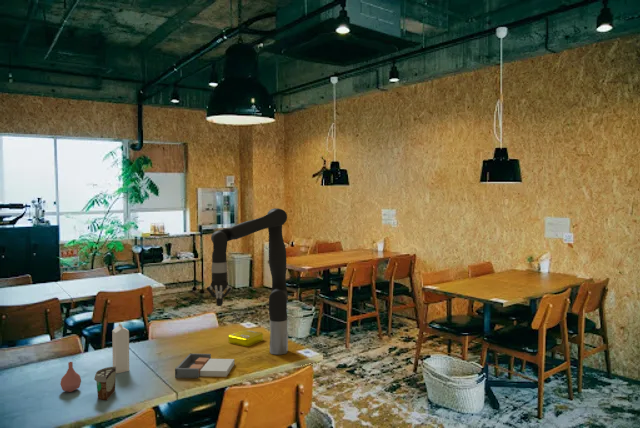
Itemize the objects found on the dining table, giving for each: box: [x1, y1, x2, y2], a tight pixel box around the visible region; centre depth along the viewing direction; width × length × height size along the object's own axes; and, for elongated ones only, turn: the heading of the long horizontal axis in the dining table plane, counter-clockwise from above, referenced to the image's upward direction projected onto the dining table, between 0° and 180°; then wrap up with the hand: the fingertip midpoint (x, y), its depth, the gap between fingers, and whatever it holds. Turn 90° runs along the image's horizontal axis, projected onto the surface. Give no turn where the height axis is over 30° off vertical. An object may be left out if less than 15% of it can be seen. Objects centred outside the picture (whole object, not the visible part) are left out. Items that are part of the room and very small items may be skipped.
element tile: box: [227, 329, 264, 347], centre depth 267 cm, size 15×15×5 cm
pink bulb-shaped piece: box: [60, 361, 82, 393], centre depth 197 cm, size 8×8×12 cm
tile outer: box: [190, 364, 203, 374], centre depth 218 cm, size 5×5×2 cm
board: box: [199, 358, 235, 378], centre depth 222 cm, size 12×16×2 cm
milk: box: [111, 322, 130, 374], centre depth 220 cm, size 6×6×22 cm
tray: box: [174, 352, 212, 379], centre depth 222 cm, size 10×21×4 cm, turn 177°
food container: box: [93, 366, 117, 401], centre depth 192 cm, size 12×6×10 cm, turn 5°
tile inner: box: [195, 357, 209, 367], centre depth 227 cm, size 5×5×2 cm
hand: (219, 305), depth 236 cm, fingers closed
